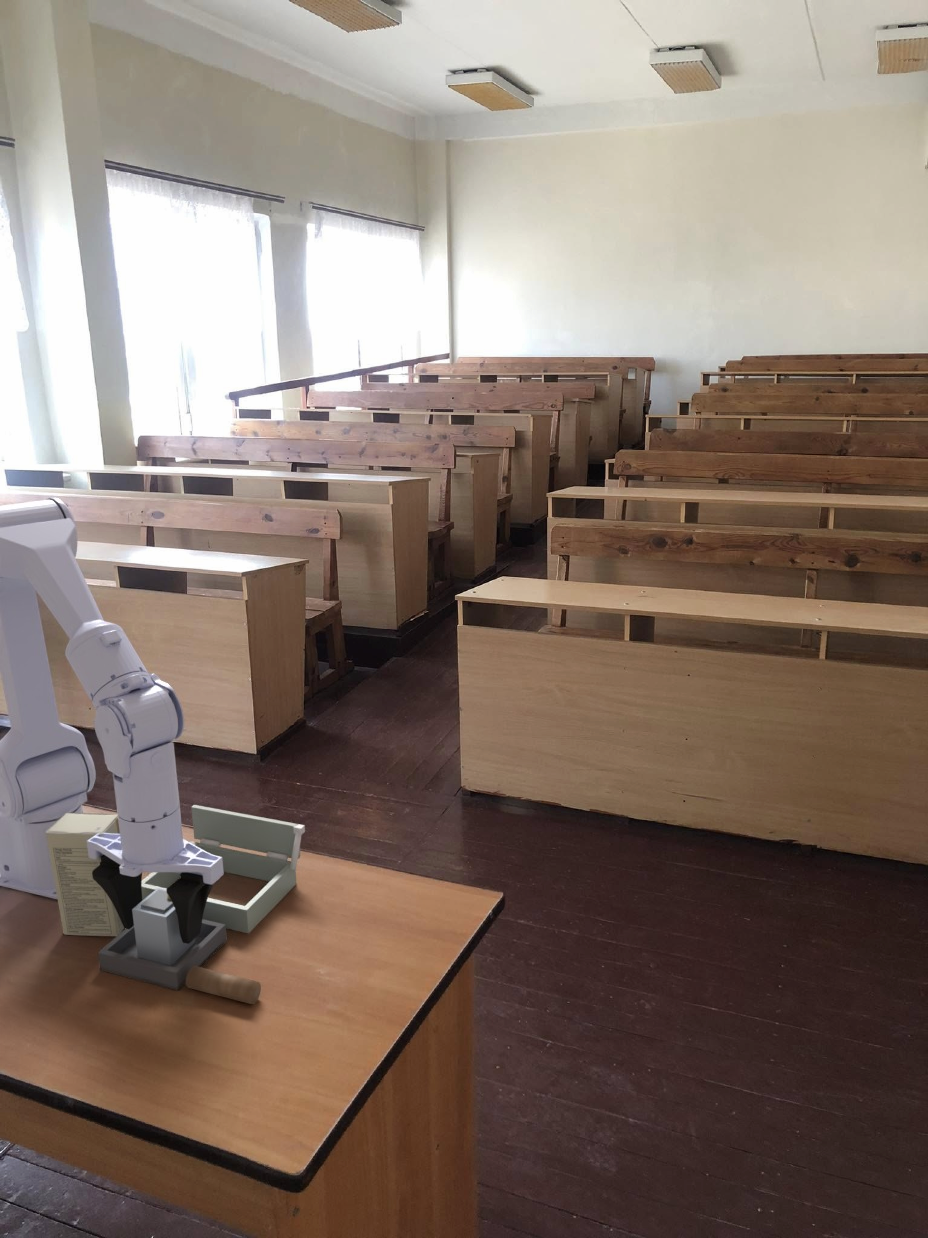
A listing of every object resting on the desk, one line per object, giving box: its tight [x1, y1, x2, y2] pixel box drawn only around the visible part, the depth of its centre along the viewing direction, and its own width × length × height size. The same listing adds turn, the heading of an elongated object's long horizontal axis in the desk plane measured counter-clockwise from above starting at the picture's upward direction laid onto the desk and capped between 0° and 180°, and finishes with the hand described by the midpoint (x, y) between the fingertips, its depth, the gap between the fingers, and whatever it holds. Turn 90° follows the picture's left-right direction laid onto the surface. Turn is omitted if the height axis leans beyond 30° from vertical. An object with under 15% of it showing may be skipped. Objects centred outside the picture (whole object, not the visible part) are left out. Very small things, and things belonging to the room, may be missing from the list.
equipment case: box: [141, 804, 306, 934], centre depth 104 cm, size 15×11×7 cm
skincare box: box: [46, 812, 125, 937], centre depth 98 cm, size 6×4×12 cm
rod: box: [185, 966, 262, 1005], centre depth 89 cm, size 7×2×2 cm, turn 70°
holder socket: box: [97, 919, 228, 991], centre depth 94 cm, size 9×8×2 cm
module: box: [132, 888, 195, 965], centre depth 94 cm, size 4×4×6 cm
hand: (162, 930), depth 94 cm, fingers open, 6 cm apart
